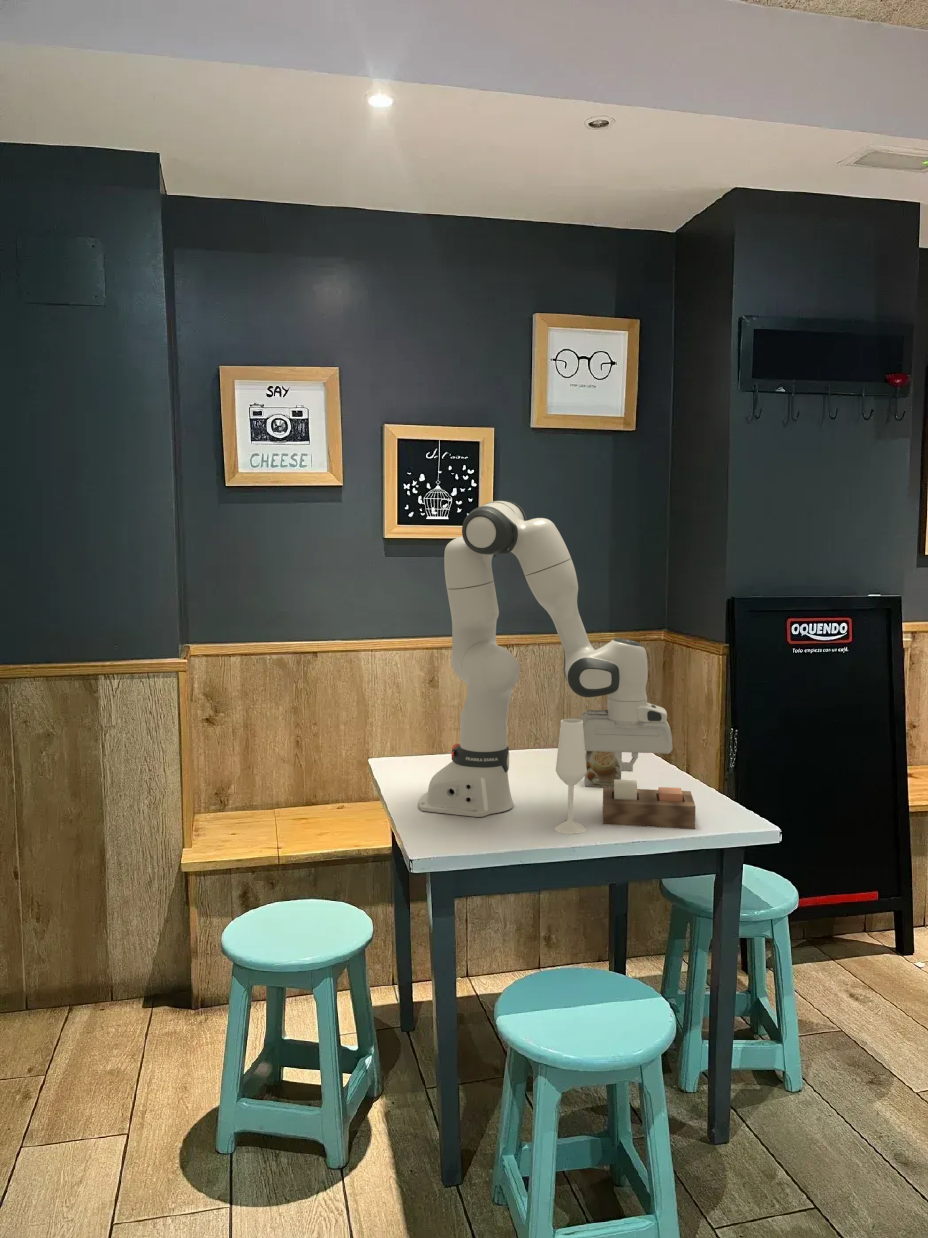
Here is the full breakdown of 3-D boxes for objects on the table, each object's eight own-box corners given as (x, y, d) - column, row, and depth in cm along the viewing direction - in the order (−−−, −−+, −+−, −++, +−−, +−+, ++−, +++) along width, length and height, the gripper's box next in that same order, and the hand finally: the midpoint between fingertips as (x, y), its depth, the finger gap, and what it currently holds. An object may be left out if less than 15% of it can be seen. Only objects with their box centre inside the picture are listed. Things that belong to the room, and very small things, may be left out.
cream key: (614, 807, 212) (614, 785, 212) (613, 800, 217) (614, 779, 216) (636, 808, 211) (637, 786, 211) (635, 801, 216) (636, 780, 216)
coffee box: (585, 787, 239) (586, 724, 237) (584, 780, 245) (585, 719, 244) (621, 788, 238) (622, 725, 237) (620, 781, 244) (621, 720, 243)
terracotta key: (659, 815, 211) (659, 793, 210) (658, 808, 216) (658, 787, 215) (682, 816, 210) (682, 794, 210) (680, 809, 215) (680, 788, 214)
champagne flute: (568, 821, 211) (570, 716, 209) (592, 829, 206) (593, 721, 204) (548, 828, 207) (549, 720, 204) (572, 835, 202) (573, 725, 199)
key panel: (602, 824, 209) (603, 802, 209) (602, 808, 221) (603, 787, 221) (694, 828, 206) (695, 806, 206) (689, 812, 218) (690, 791, 218)
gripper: (580, 712, 210) (579, 773, 212) (673, 714, 207) (672, 776, 209) (580, 707, 217) (580, 765, 218) (671, 709, 214) (670, 768, 215)
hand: (626, 771), depth 213 cm, fingers closed
